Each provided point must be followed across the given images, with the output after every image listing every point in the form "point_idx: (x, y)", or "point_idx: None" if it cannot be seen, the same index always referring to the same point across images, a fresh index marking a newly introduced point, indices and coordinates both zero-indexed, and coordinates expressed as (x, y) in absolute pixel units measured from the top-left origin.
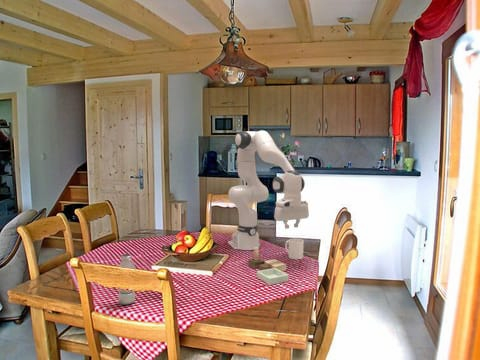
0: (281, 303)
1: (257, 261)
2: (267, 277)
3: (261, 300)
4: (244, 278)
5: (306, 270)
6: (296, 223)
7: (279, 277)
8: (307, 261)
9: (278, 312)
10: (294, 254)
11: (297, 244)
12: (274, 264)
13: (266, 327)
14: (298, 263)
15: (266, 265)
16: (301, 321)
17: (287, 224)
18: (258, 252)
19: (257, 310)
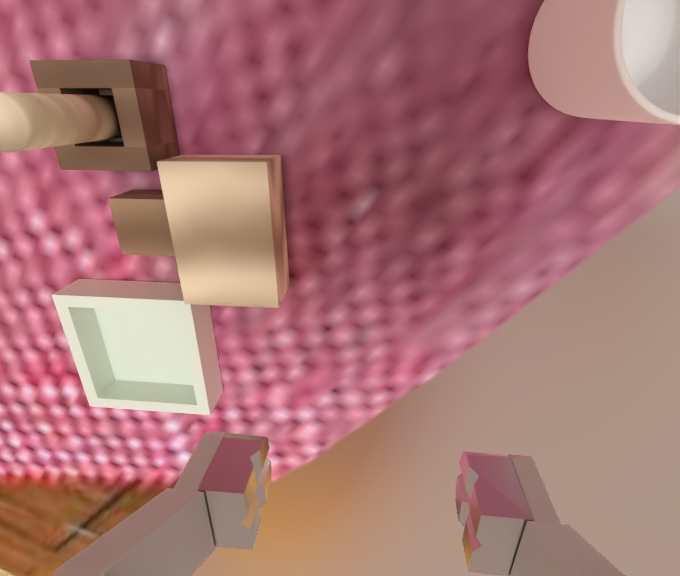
0: (99, 506)
1: (92, 157)
2: (85, 390)
3: (35, 464)
4: (8, 257)
5: (422, 326)
6: (525, 565)
7: (153, 408)
8: (589, 189)
9: (67, 535)
10: (552, 91)
11: (632, 110)
12: (202, 264)
13: (9, 564)
14: (485, 194)
15: (153, 230)
16: None
17: (192, 571)
18: (52, 145)
19: (5, 502)
